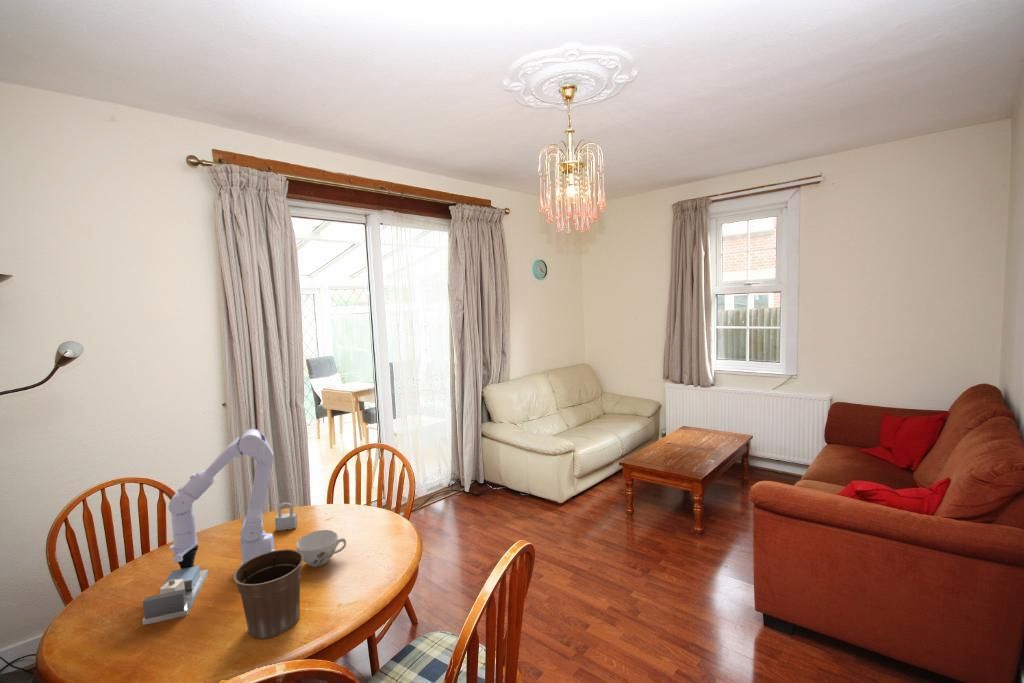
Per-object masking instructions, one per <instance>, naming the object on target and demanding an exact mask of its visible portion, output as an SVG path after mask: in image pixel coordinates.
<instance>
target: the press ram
mask: <svg viewBox="0 0 1024 683" xmlns="http://www.w3.org/2000/svg"><path fill="white" fill-rule="evenodd" d="M200 571H201V565H195V566H193V567H189V568H184V569H181V568H180V569H175V570H171V572H170V574H169V575H168V577H167V578H166V580H165V581H164V583H163V584H162V586H163V585H164V584H166V583H167V582H168V581H169V580H171V579H175V580H179V579H184V586H185V590H186V591H188V590H192V589H193V587H194V585H195V583H196V582H197V580H198V578H199V576H200V574H201V573H200Z"/></svg>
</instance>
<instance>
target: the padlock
mask: <svg viewBox="0 0 1024 683" xmlns="http://www.w3.org/2000/svg"><path fill="white" fill-rule="evenodd" d="M285 506H287V507H288V508H289V512H288V513H287V512H286V513H282V508H283V507H285ZM274 524H275V525H274V526H275V531H287V530H286V529H288V530H292V529H291V528H295V529H296V528H297V526H298V525H297V524H298V513H297V512H294V505H292V503H290V502H282V503H280V504H279V505H278V507H277V515H276V516H275V517H274Z"/></svg>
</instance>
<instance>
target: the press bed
mask: <svg viewBox="0 0 1024 683" xmlns="http://www.w3.org/2000/svg"><path fill="white" fill-rule="evenodd" d="M200 573H201V574H200V576H199V578H198V580H197V582H196V583H195V585H194V587H193V589H192V590H188V591H186V590H185V589H184V590H179V591H174V592H169V593H164V594H160V593H159V594H156V595H151V596H145V598H144V599H143V600H142V606H143V614H144V616H143V619H142V626H145V625H151V624H154V623H155V624H156V623H159V622H164V621H167V620H174V619H177V618H182V617H185V616H186V615H187V616H188V614H189V613H190V611H191V608H192V607H193V605H194V604H195V601H196V599H197V597H198V596H199V593H200V592H201V589H202V587H203V586H202V585H204V584H205V581H206V580H207V578H208V575H209V569H208V568H207V569H203V570H200ZM203 583H204V584H203Z"/></svg>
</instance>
